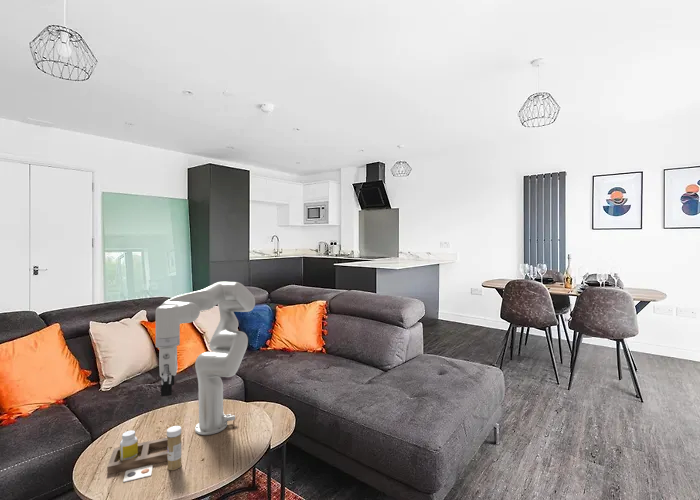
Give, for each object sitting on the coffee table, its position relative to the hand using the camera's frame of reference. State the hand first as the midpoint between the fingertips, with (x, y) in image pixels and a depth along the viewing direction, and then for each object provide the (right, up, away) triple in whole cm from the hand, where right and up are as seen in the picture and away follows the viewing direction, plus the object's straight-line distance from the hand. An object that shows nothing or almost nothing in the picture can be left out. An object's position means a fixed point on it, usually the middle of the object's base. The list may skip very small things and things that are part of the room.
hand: (167, 390), depth 125 cm
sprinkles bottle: (+3, -26, -1) cm, 26 cm away
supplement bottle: (-15, -26, +3) cm, 31 cm away
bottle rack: (-11, -26, +5) cm, 29 cm away
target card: (-8, -26, -4) cm, 28 cm away
